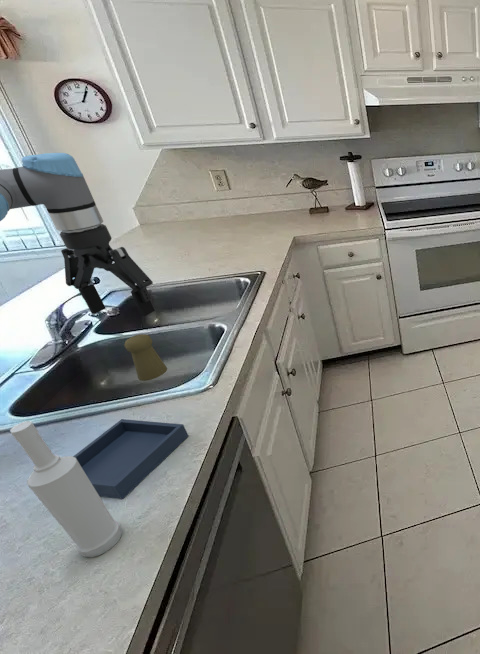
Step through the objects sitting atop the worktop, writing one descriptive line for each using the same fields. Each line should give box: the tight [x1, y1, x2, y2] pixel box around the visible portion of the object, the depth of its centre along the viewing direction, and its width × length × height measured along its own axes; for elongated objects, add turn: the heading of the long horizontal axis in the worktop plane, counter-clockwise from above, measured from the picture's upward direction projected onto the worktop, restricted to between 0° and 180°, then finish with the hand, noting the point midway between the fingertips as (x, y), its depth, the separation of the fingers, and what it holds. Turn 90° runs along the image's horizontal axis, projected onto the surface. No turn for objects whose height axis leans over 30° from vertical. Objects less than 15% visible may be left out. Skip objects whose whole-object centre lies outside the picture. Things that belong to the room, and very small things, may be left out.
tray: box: [73, 418, 189, 500], centre depth 80 cm, size 15×15×3 cm
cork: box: [123, 333, 168, 382], centre depth 103 cm, size 6×6×11 cm
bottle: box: [9, 420, 123, 558], centre depth 61 cm, size 5×5×25 cm
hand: (123, 312), depth 98 cm, fingers open, 13 cm apart
